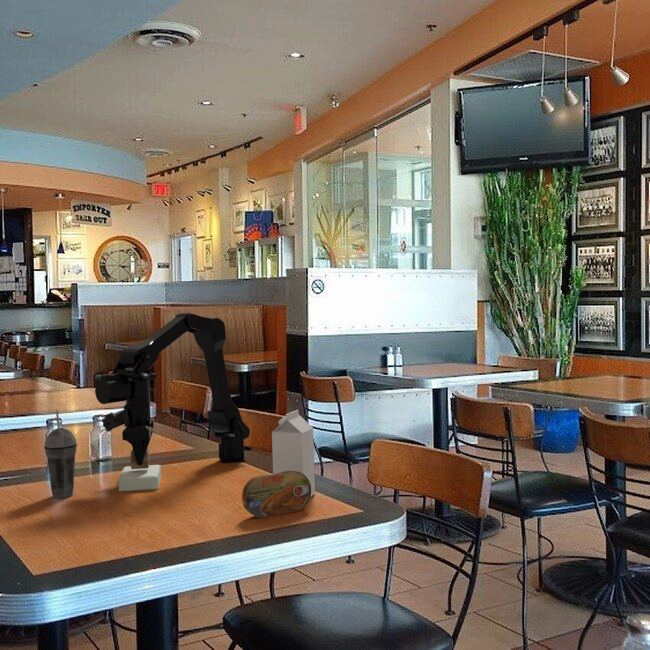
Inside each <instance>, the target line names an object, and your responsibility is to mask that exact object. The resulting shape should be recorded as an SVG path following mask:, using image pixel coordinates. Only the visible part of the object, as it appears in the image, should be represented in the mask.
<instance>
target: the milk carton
mask: <svg viewBox="0 0 650 650" xmlns="http://www.w3.org/2000/svg"><path fill="white" fill-rule="evenodd" d="M277 423H278V424H279V425H278V426H277V427H276V428H275V429H274V430H272V432H271V443H272V444H271V445H272V447H271V448H272V474H273V473H279V472H285V471H298V472H301V473H303V474H304V475H305V476H306V477H307V478H308V479H309V482H310V485H311V496H310V498H311V497H313V496H314V495H315V493H316V488H315V487H316V485H315V484H316V483H315V478H316V477H315V451H314V450H315V449H314V448H315V446H314V427H313V426H312V425H311V424H310V423H309V422H308V421H306V420H305V419H304V418H303V417H302V416H301V415H300V414H299V409H296V410H294V411H291V412H288V413H286V414H285V416H283V417H281V419H279V420H278V422H277Z"/></svg>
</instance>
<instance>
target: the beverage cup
mask: <svg viewBox="0 0 650 650" xmlns="http://www.w3.org/2000/svg"><path fill="white" fill-rule="evenodd" d="M55 414H56V415H55V417H56V427H57V428H55V429H53V430H51V431H50V432H49V433H48V434H47V436H46V438H45V441H44V445H43V448H44V453H45V456H46V461H47V468H48V469H47V470H48V477H49V483H50V491H51V496H52V499H66V498H71V497H73V496H74V494H73V493H74V487H75V486H74V485H75V469H76V468H75V467H76V466H75V465H76V464H75V463H76V454H77V446H78V443H77V440H76V436H75V435H74V434H73V432H72V431H71V430H69V429H67V428H63V427H61V428H60V418H59V410H58V409H56V410H55Z"/></svg>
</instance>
